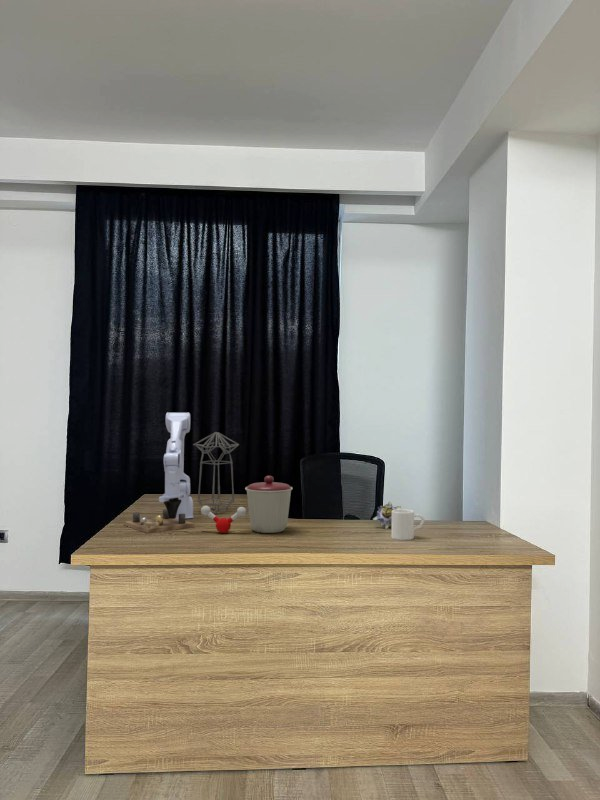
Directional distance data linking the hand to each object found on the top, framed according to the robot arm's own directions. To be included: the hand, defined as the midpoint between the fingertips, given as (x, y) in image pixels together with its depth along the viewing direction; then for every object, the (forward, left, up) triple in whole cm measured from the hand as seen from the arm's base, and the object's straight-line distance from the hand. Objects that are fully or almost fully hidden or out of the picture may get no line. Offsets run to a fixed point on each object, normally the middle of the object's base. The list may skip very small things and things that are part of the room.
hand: (172, 518), depth 284 cm
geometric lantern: (-33, -22, -4) cm, 40 cm away
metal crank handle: (+7, -3, -2) cm, 8 cm away
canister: (-26, +27, -4) cm, 38 cm away
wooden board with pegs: (+3, -6, -4) cm, 7 cm away
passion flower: (-69, +49, -4) cm, 85 cm away
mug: (-59, +68, -4) cm, 90 cm away
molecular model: (-10, +20, -4) cm, 23 cm away
